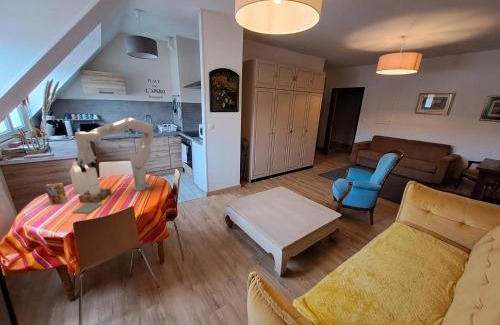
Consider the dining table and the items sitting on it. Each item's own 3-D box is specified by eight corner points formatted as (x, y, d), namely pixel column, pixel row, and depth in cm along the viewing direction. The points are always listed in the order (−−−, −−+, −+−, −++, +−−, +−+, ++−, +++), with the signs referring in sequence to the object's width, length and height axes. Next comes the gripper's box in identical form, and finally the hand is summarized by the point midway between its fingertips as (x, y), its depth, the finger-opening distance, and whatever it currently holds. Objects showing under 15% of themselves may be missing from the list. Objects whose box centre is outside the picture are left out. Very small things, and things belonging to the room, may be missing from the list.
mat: (102, 204, 150) (101, 203, 149) (89, 213, 138) (89, 212, 138) (86, 204, 150) (86, 203, 150) (72, 213, 138) (72, 212, 138)
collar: (111, 194, 166) (110, 188, 165) (98, 202, 152) (97, 197, 151) (94, 193, 166) (93, 188, 165) (80, 202, 153) (78, 196, 151)
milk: (80, 194, 164) (72, 164, 156) (74, 190, 170) (66, 162, 162) (96, 189, 174) (90, 161, 166) (90, 185, 180) (83, 158, 172)
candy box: (68, 200, 154) (62, 182, 150) (65, 203, 151) (59, 184, 146) (53, 201, 152) (48, 183, 147) (50, 204, 148) (44, 186, 143)
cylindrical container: (97, 200, 156) (90, 170, 148) (88, 199, 156) (81, 170, 148) (104, 196, 163) (97, 167, 155) (95, 195, 163) (88, 167, 155)
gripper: (88, 145, 155) (93, 166, 160) (69, 150, 138) (74, 173, 143) (98, 146, 155) (102, 166, 160) (79, 151, 138) (84, 174, 143)
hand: (89, 170), depth 152 cm, fingers open, 9 cm apart
